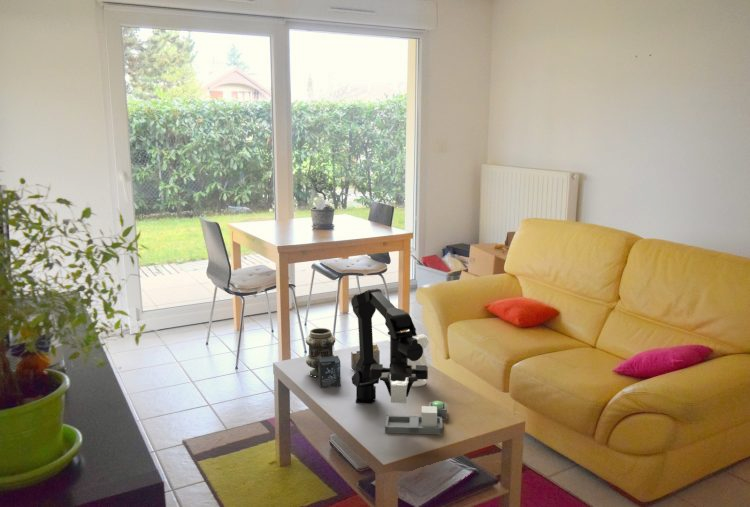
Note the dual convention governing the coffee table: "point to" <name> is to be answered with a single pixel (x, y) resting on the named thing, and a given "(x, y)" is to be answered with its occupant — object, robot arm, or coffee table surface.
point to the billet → (398, 391)
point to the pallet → (416, 422)
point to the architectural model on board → (356, 356)
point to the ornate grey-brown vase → (319, 347)
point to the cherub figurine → (422, 361)
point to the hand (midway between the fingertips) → (398, 396)
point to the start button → (438, 404)
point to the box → (329, 371)
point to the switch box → (441, 411)
